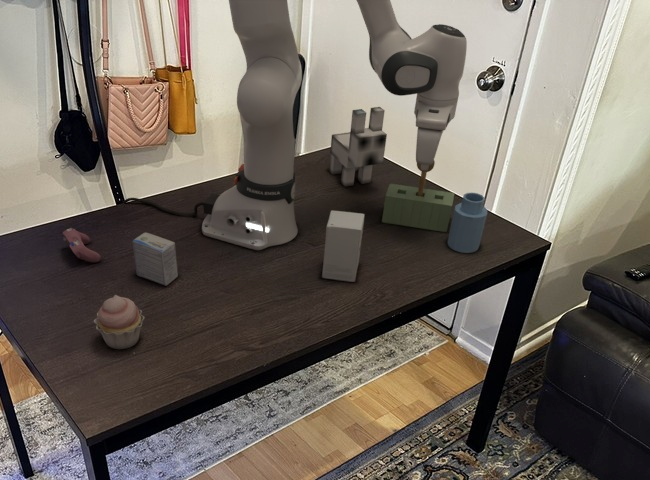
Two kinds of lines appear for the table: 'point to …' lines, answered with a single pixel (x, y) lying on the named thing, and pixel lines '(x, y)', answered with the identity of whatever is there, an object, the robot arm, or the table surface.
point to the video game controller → (80, 245)
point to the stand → (417, 207)
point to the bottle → (468, 224)
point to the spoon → (423, 178)
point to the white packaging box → (342, 245)
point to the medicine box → (155, 258)
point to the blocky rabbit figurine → (359, 147)
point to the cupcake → (119, 322)
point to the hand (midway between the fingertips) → (424, 167)
